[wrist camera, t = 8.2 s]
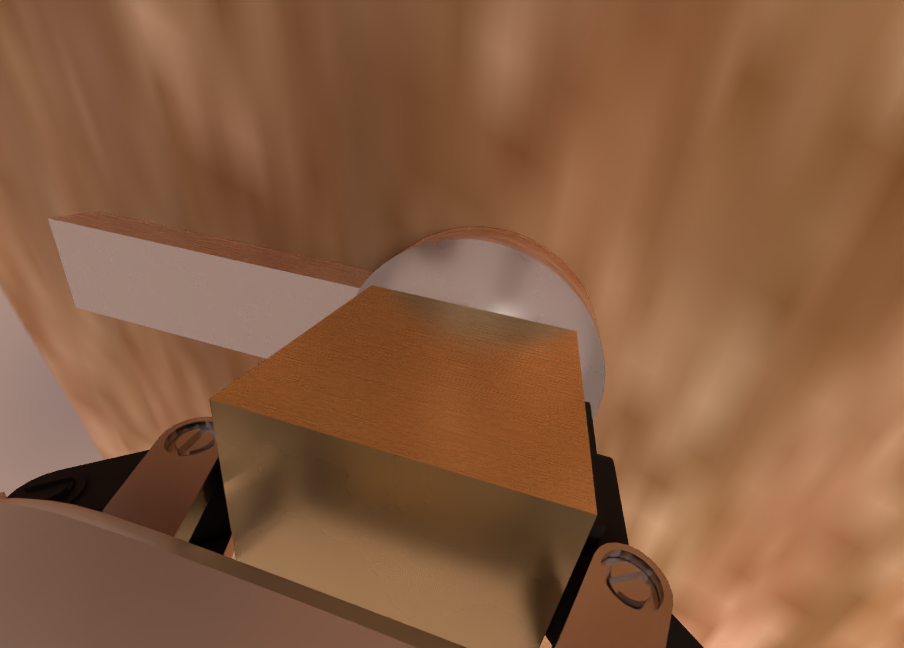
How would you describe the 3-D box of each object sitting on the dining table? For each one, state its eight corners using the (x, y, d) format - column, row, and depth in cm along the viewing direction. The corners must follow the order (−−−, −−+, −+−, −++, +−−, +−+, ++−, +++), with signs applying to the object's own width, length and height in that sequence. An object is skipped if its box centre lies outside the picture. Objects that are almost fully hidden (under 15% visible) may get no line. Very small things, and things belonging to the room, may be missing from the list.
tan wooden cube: (371, 285, 11) (209, 398, 6) (576, 331, 10) (597, 514, 5) (363, 439, 14) (245, 615, 9) (527, 488, 13) (507, 719, 8)
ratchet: (84, 151, 16) (-144, 150, 11) (632, 253, 13) (686, 324, 7) (131, 337, 20) (-21, 402, 15) (562, 457, 17) (564, 600, 11)
